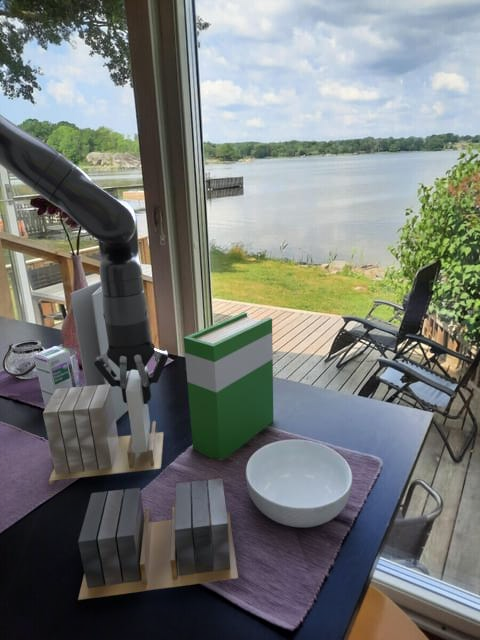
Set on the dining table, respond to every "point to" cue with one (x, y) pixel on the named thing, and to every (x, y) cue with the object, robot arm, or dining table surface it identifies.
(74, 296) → the grey box
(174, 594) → the dining table surface
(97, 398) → the beige rack
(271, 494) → the cereal bowl
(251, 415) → the hardback book
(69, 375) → the syrup box
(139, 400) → the white book
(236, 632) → the dining table surface
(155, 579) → the grey rack
